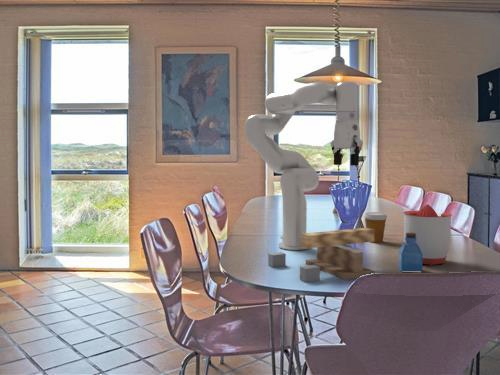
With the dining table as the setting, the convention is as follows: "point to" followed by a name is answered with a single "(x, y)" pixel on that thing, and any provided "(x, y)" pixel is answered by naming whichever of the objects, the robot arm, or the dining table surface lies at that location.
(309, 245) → the oak batten
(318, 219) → the dining table surface
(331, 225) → the dining table surface
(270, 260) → the pair of grey cubes
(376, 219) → the disposable coffee cup
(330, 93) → the robot arm
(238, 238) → the dining table surface
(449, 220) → the citrus juicer
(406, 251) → the perfume bottle
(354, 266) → the stand
